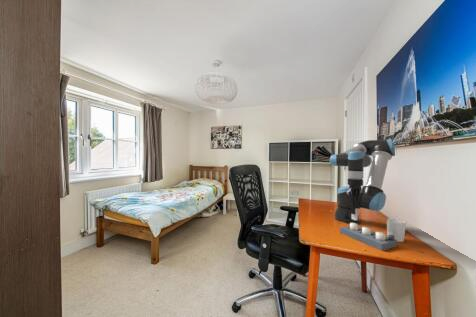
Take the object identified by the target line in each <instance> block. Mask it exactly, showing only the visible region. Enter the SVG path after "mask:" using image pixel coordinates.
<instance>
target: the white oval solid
mask: <svg viewBox="0 0 476 317" xmlns="http://www.w3.org/2000/svg"><path fill="white" fill-rule="evenodd" d="M361 228H362V234H364V235H367V236H370V235H371V231H372V228H370V227H368V226H362V227H361Z"/></svg>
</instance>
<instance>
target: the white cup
mask: <svg viewBox="0 0 476 317" xmlns="http://www.w3.org/2000/svg"><path fill="white" fill-rule="evenodd" d="M406 226H407V223H406V221H404V220H401V219H396V218H386V233H387V236H388V235H390V233H392V235H393V236H394V239H395V240H397V242H398V243H399V242H400V243H403V242H404V241H405V234H406Z"/></svg>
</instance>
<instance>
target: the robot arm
mask: <svg viewBox="0 0 476 317" xmlns="http://www.w3.org/2000/svg"><path fill="white" fill-rule="evenodd" d="M392 140H393V139H388V138H387V139H373V140H372V139H371V140H370V139H369V140H365V141H361V142H359V143H356V144H354V145H353V146H352V147H351V148H349V149H348V150H345V151H343V152H341V153H339V154H337V153H336V154H331V155H330V157H329V163H330V165H331V166H334V167H347V185H348V186H339V188H337V208H336V210H335V213H334V219H335V220H336V221H338V222H341V223H342V222H343V223H347V224H350V223H356V224H359V222H360V217H359V209H365V210H370V211H376V212H377V211H381V210H383V208H384V207H385V206H386V205H385V204H386V202H387V201H386V200H387V194H385V192H384V190H383V189H382V187H383V184H384V179H385V175H386V172H387V167H388V162H389V161H391V160H392V158H393V157H395V148H394V146H393V142H392ZM370 165H371V166H370ZM369 166H370V169H369V171H368V176H367V178H366V183H365V185H364V168H367V167H369Z"/></svg>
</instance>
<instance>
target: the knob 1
mask: <svg viewBox="0 0 476 317" xmlns="http://www.w3.org/2000/svg"><path fill="white" fill-rule="evenodd" d="M349 226H350V229H351V230H354V231H358V227H359V223H349Z"/></svg>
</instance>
